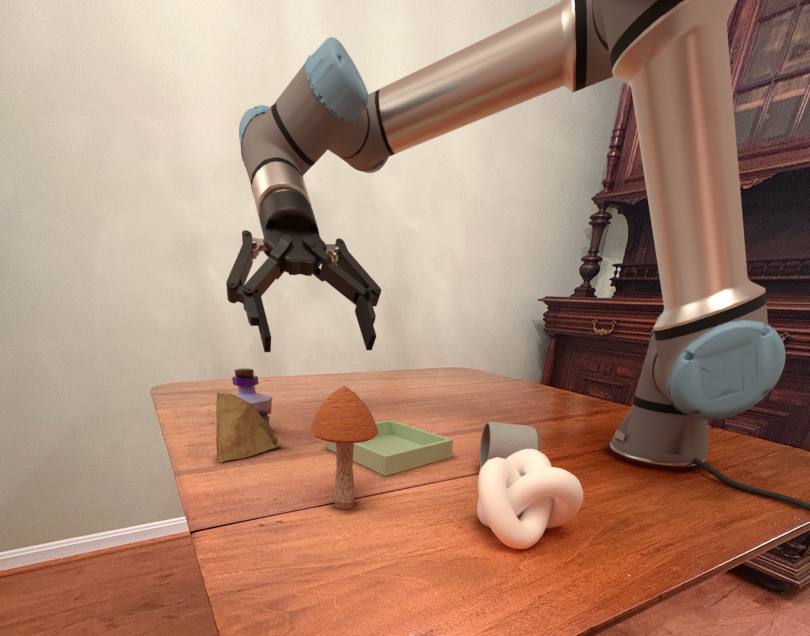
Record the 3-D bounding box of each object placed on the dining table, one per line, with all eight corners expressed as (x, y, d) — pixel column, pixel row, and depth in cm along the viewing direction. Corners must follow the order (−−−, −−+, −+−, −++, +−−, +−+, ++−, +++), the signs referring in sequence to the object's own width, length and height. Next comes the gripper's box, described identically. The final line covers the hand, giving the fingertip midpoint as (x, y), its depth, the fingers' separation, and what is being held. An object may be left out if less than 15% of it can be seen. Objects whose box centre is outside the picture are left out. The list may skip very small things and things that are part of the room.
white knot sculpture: (448, 513, 54) (453, 444, 49) (531, 504, 57) (544, 438, 52) (487, 560, 44) (498, 479, 40) (585, 546, 47) (605, 470, 43)
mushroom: (385, 517, 52) (385, 391, 45) (320, 524, 50) (309, 393, 43) (371, 492, 59) (369, 378, 52) (313, 497, 57) (303, 380, 50)
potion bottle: (231, 443, 77) (218, 373, 71) (228, 431, 84) (216, 366, 78) (280, 439, 80) (271, 371, 74) (273, 427, 87) (265, 364, 81)
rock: (280, 428, 78) (221, 422, 75) (281, 395, 70) (216, 387, 68) (279, 478, 74) (217, 474, 71) (279, 449, 66) (210, 444, 63)
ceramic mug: (538, 479, 65) (547, 429, 61) (484, 479, 64) (491, 428, 61) (520, 458, 74) (527, 413, 70) (473, 457, 74) (478, 412, 70)
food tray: (451, 457, 73) (453, 439, 71) (385, 476, 65) (385, 456, 63) (391, 435, 84) (391, 419, 82) (327, 449, 75) (326, 431, 74)
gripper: (364, 246, 67) (401, 360, 63) (191, 232, 58) (220, 366, 53) (376, 198, 60) (418, 322, 56) (182, 174, 51) (215, 321, 47)
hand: (322, 344), depth 55 cm, fingers open, 13 cm apart
